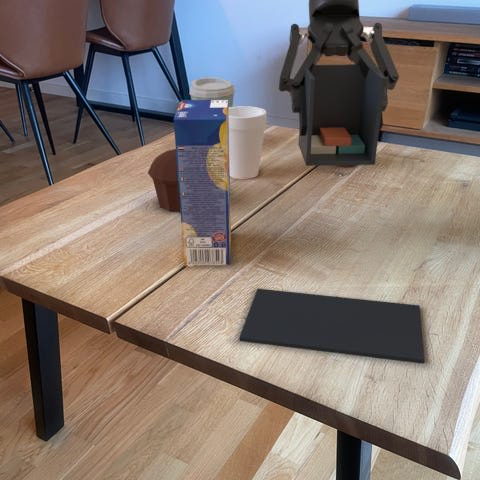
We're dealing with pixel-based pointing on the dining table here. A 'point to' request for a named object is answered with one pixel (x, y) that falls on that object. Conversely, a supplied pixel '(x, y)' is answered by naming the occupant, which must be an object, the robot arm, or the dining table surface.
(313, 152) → the block
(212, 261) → the beverage box
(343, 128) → the block
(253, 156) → the foam cup
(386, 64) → the robot arm
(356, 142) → the block
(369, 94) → the basket
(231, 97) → the disposable coffee cup
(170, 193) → the muffin
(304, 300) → the mat
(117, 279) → the dining table surface
